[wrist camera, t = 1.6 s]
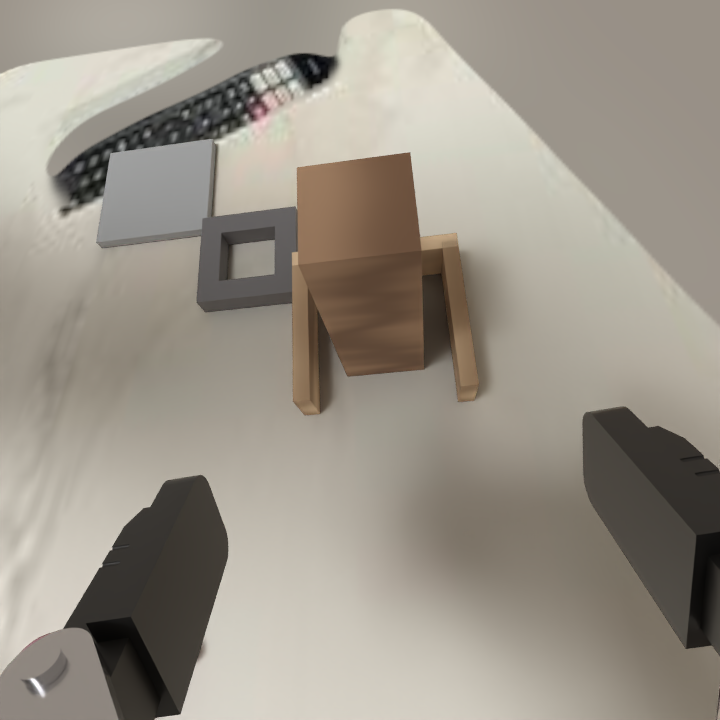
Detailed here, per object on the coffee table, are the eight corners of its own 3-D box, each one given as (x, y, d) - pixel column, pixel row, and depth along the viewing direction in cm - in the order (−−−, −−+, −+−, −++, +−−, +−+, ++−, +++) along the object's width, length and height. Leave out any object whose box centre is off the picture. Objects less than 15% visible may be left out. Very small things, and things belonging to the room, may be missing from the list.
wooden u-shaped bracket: (304, 415, 26) (292, 401, 24) (302, 276, 29) (291, 252, 27) (474, 400, 25) (478, 384, 23) (454, 259, 29) (456, 232, 26)
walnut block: (347, 376, 27) (298, 264, 17) (344, 308, 28) (296, 167, 18) (424, 369, 26) (421, 250, 16) (416, 300, 28) (409, 152, 18)
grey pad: (101, 247, 32) (96, 242, 31) (115, 159, 34) (110, 153, 34) (210, 234, 31) (206, 228, 31) (215, 145, 34) (212, 138, 33)
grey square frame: (205, 312, 29) (196, 302, 28) (210, 230, 31) (202, 218, 30) (301, 301, 29) (296, 291, 28) (300, 219, 31) (295, 206, 30)
